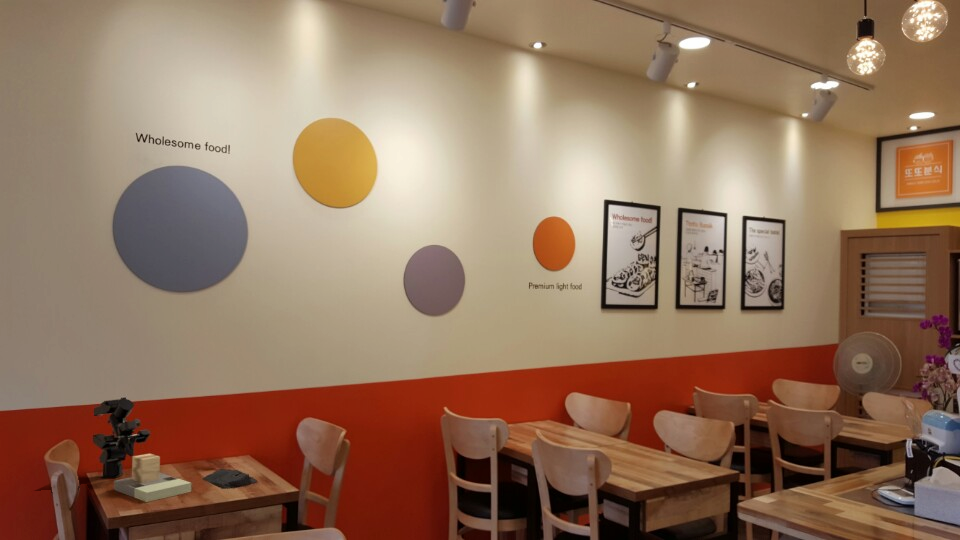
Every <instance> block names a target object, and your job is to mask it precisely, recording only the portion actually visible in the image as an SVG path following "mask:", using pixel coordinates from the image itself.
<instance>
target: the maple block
mask: <svg viewBox="0 0 960 540" xmlns="http://www.w3.org/2000/svg"><path fill="white" fill-rule="evenodd" d="M131 457H132V461H131V462H132V463H131V465H132V466H131V477H132V480H135V481H138V482H141V483H144V482H149V481H154V480H158V479H159V472H160V467H161V456H159V455H156V454H153V453H145V454H139V455H133V456H131Z"/></svg>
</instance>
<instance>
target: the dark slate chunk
mask: <svg viewBox="0 0 960 540" xmlns="http://www.w3.org/2000/svg"><path fill="white" fill-rule="evenodd" d="M202 480H203V481H205V482H207V483H209V484H211V485H214V486H216V487H217V488H220V489H223V490H224V489H227V490H229V489H233V488H241V487H246V486H250V485H252V484H256V483H258V479H256V478H254V477H252V476H250V475H249V474H248V473H246V472H242V471H240V470H238V469H230V468H228V469H227V468H219V469H218V470H215V471H214V472H212V473H210V474H207V475H205V476H204V477H203V478H202Z"/></svg>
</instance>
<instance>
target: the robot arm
mask: <svg viewBox="0 0 960 540" xmlns="http://www.w3.org/2000/svg"><path fill="white" fill-rule="evenodd" d="M134 404H135V403H134V402H132V401H131V399H127V397H126V396H125V397H120V399H117V398H116V399H110V400H104V401H102V402H101V403H100V405H98V406H95V407H93V408H94V416H98V415H101V416H103V415H109V416H108V419H107V424H110V425H111V428H112V432H111V433H112V434H109V435H105V434H104V433H102V434H97V435H93V442H92V443H93V444H94V445H96V446H97V447H98V448H99V449H101V450H102V452H101V454H100V456H99V459H98V460H99V463H101V464H102V475H101V476H100V478H101V479H103V478H104V479H105V478H106V479H117V478H119V477H120V476H122V475H124V473H123V464H122V461H123V462H124V461H126V458H127V456H129V457H130V458H131V457H133V456H134V451H135V449H134V448H135V443H137V444H141V443H142V444H143V443H145V442H147V440H148V439H149V437H150V435H151V432H150V430H149V429H142V430H138V431H137V432H136V434H133V433H134V432H135V429H137V428H139V427H141V425H142V423H141V420H140V418H135V419H133V420H129V421H127V419H126V418H128V416H129V415H130V414H131V413H132V410H133V409H134V406H135V405H134Z"/></svg>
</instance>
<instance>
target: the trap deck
mask: <svg viewBox="0 0 960 540" xmlns="http://www.w3.org/2000/svg"><path fill="white" fill-rule="evenodd" d="M113 491H116V492H119V493H121V494H124V495H127V496H130V497H131V498H135V499H138V500H140V501H141V502H145V503H148V502H153V501H157V500H162V499H165V498H170V497H173V496H174V497H175V496H179V495H183V494H188V493H191V492H192V482H190V481H186V480H183V479H181V478H178V477H174V476H172V475H168V474H165V473H163V472H160V471H159V479H158V480H154V481H149V482H144V483H141V482H138V481H135V480H132V476H131V477H127V478H121V479H117V480H114V481H113Z"/></svg>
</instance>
